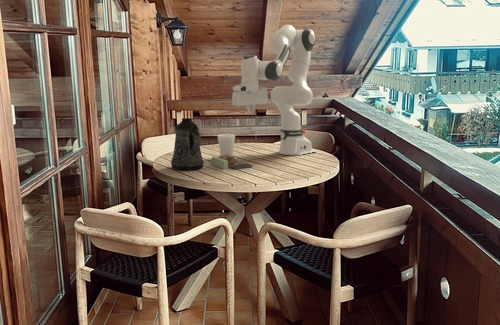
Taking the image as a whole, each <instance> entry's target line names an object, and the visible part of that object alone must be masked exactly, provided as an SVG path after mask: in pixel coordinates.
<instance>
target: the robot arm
mask: <svg viewBox="0 0 500 325" xmlns="http://www.w3.org/2000/svg"><path fill="white" fill-rule="evenodd" d="M316 38H317V35H316V34H315V32H314V31H313V30H312V29H309V28H304V29H296V28H295V27H294V26H293V25H291V24H285V25H283V26H282V27H280V28H279V29H278V30H277V31H276V32H275V33H274V35H273V36H272V37H271V38H270V40H269V48H270V50H271V52H272V53H274V55H276V58H275V59H273V60H260V59H259V58H258V56H257V55H256V54H247V55H244V56H243V57H242V59H241V63H240V64H241V65H240V70H241V71H240V72H241V83H240V84H237V85H235V86H233V87H232V91H233V92H232V95H231V103H232V106H233V107H241V106H243V107H245V109H246V112H247V115H248V114H254V112H255V109H256V107H257V106H256V105H262V104H263V105H264V104H267V103H269V98H268V87H266V86H265V85H262V86H261V85H259V80H265V81H266V80H267V81H268V80H269V81H272V82H273V81H274V82H275V81H278V80H279V79H280V78H281V76H282V75H283V71H284V68H285V66H286V64H287V61H288V59H289V58H290V55H291V52H292V51H293V52H294V53H293V56H292V59H291V60H290V64H289V68H288V71H287V78H288V79H289V81H290V82H292V83H293V84H292V85H291V86H289V85H281V86H275V87H274V88H273V89H271V92H270V99H271V101H272V103H273V104H275V105H276V107H277V108H278V110H279V113H280V119H281V120H280V121H281V123H280V124H281V128H280V145H279V149H278V154H281V155H286V156H304V155H303V154H305V155H309V154H308V153H310V154H313V153H312V152H316V153H317V151H316V150H315V149H313V146H312V142H311V140H309V139H308V138H306V137H305V136H304V135H303V134H306V133H307V130H306V129H301V123H302V122H301V120H302V119H301V115H300V114H299V113H298V112H296V110H295V109H294V108H293V106H296V107H302V106H304V107H305V106H309V105H310V104H311V103H312V101H313V99H314V95H313V91H312V89H311V88H310V87H309V86H308V83H307V77H308V73H309V69H310V65H311V56H312V54H311V50H312V49H313V48H314V46H315V44H316V40H317V39H316ZM250 106H251V108H250Z"/></svg>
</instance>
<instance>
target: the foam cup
mask: <svg viewBox="0 0 500 325" xmlns="http://www.w3.org/2000/svg"><path fill="white" fill-rule="evenodd" d="M235 141H236V135H235V134H232V133H221V134H218V135H217V142H218V147H219V156H224V155H231V156H233V157H234V146H235Z"/></svg>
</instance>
